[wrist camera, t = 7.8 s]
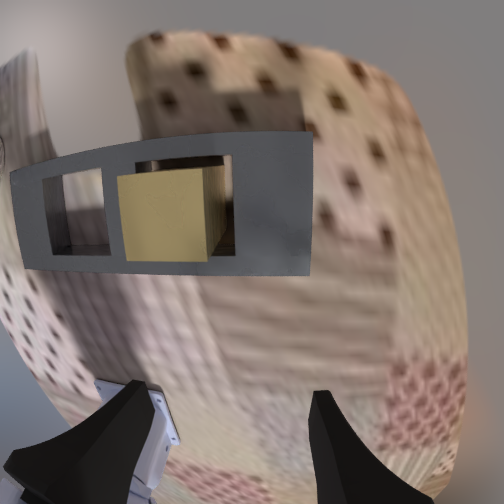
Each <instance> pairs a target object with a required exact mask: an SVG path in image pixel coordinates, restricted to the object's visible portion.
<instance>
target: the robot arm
mask: <svg viewBox="0 0 504 504" xmlns="http://www.w3.org/2000/svg"><path fill="white" fill-rule="evenodd" d="M94 385H95V387H96V389H97V391H98V393H99V395H100V397H101V399H102V401H103V402H102V403H101V405H100V407H99V408H98V410H97V411H96V412H95V413H94V414H92V415H91V416H90V417H88V418H87V419H86V420H84V421H83V422H81V423H80V424H78V425H77V426H75V427H73V428H72V429H70V430H68V431H67V432H65V433H63V434H61V435H59V436H57V437H55V438H52V439H50V440H48V441H45V442H42V443H40V444H37V445H34V446H30V447H26V448H22V449H17V450H14V451H13V452H12V453H11V455H10V456H9V458H8V460H7V461H6V463H5V464H4V466H3V467H4V470H5V471H6V472H7V473H8V474H9V475H10V476H11V477H12V478H14V479H15V480H16V481H17V482H18V483H20V484H21V485H22V486H23V487H24V488H25V489H24V491H22V490H20V489H19V488H18V487H16V486H15V485H14V484H12V483H11V482H10V481H8V480H7V479H6V478H3V479H2V481H1V483H0V504H157V503H156V501H155V499H154V498H152V497H150V495H151V492H152V490H153V489H155V488H156V487H157V486H158V484H159V483H160V481H161V478H162V474H163V471H164V468H165V464H166V461H167V458H168V455H169V451H170V448H171V445H180V439H179V437H178V434H177V432H176V429H175V426H174V424H173V421H172V418H171V416H170V413H169V410H168V407H167V404H166V401H165V398H164V395H163V394H162V393H161V392H158V391H152V390H148V389H147V387H146V384H145V382H144V381H138V380H132V381H131V382H129V383H128V384H127V385H126V386H125V385H120V384H115V383H111V382H106V381H102V380H98V379H96V380H95V381H94ZM308 425H309V441H310V447H311V453H312V459H313V465H314V470H315V476H316V483H317V499H318V504H434V502H433V500H432V498H431V497H429V496H427V495H425V494H423V493H421V492H420V491H418V490H416V489H415V488H413V487H412V486H410V485H409V484H407V483H406V482H404V481H403V480H402V479H400V478H399V477H398V476H396V475H395V474H394V473H393V472H392V471H390V470H389V469H388V468H387V467H386V466H385V465H383V464H382V463H381V462H380V461H379V460H378V459H377V458H376V457H375V456H374V455H373V454H372V452H371V451H370V450H369V449H368V448H367V447H366V446H365V444H364V443H363V442H362V441H361V439H360V438H359V437H358V436H357V434H356V433H355V432H354V430H353V429H352V427H351V426H350V424H349V423H348V422H347V420H346V419H345V417H344V415H343V414H342V412H341V410H340V409H339V407H338V405H337V404H336V402H335V400H334V398H333V396H332V394H331V392H330V391H329V390H321V391H314V392H313V398H312V403H311V408H310V413H309V418H308Z"/></svg>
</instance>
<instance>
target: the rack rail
mask: <svg viewBox="0 0 504 504" xmlns="http://www.w3.org/2000/svg"><path fill="white" fill-rule="evenodd" d="M225 155H232V164H233V199H234V228H235V244H217V246H216V248H215V249H214V251H213V253H212V255H211V256H210V258H209V260H208V262H168V261H127V259H126V253H125V246H124V239H123V232H122V224H121V216H120V206H119V196H118V184H117V176H122V175H128V174H134V173H141V172H148V171H152V168H151V161H158V160H168V159H179V158H192V157H206V156H225ZM99 168H101V171H102V185H103V196H104V206H105V215H106V223H107V230H108V237H109V243H110V245H71V244H70V238H69V232H68V226H67V219H66V212H65V204H64V194H63V184H62V175H66V174H71V173H77V172H82V171H87V170H93V169H99ZM10 183H11V194H12V203H13V211H14V218H15V224H16V230H17V236H18V241H19V246H20V250H21V255H22V259H23V264H24V268H25V269H35V270H52V271H72V272H94V273H120V274H152V275H197V276H310V261H311V240H312V211H313V132H303V131H245V132H223V133H207V134H195V135H184V136H174V137H166V138H158V139H150V140H143V141H137V142H130V143H125V144H119V145H113V146H108V147H103V148H98V149H93V150H88V151H84V152H79V153H75V154H71V155H67V156H63V157H59V158H55V159H51V160H48V161H44V162H41V163H37V164H34V165H31V166H27V167H24V168H21V169H18V170H15V171H12V172H10Z"/></svg>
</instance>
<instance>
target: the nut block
mask: <svg viewBox="0 0 504 504" xmlns="http://www.w3.org/2000/svg"><path fill="white" fill-rule="evenodd" d="M117 184H118V196H119V206H120V216H121V224H122V232H123V239H124V246H125V253H126V259H127V261H168V262H208V260H209V258H210V256H211V255H212V253H213V251H214V249H215V248H216V246H217V244H218V243H219V241H220V239H221V237H222V236H223V234H224V232H225V231H226V229H227V226H226V201H225V172H224V165H223V166H203V167H187V168H174V169H162V170H155V171H148V172H141V173H134V174H128V175H122V176H117Z"/></svg>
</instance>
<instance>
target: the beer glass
mask: <svg viewBox="0 0 504 504" xmlns="http://www.w3.org/2000/svg"><path fill="white" fill-rule="evenodd" d="M3 169H4V147H3V142H2V140H1V138H0V180H1V177H2V174H3Z"/></svg>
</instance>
